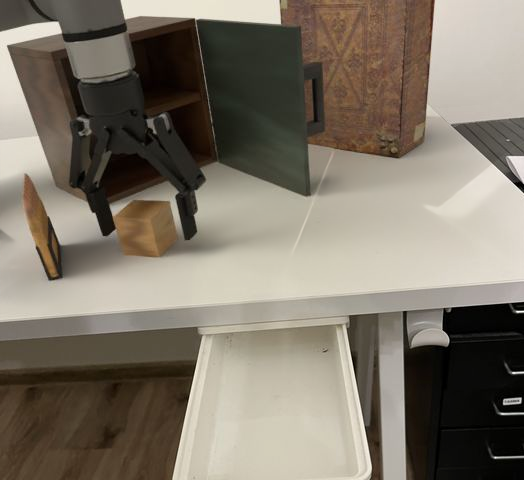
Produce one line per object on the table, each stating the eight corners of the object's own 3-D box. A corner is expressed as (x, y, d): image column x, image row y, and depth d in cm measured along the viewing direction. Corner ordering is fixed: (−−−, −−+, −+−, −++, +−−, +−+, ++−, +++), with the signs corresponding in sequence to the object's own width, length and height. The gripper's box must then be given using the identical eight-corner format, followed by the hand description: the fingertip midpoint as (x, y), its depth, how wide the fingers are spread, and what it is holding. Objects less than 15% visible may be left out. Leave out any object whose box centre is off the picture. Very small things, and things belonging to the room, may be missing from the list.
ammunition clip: (62, 277, 77) (30, 195, 69) (48, 280, 76) (15, 199, 69) (60, 245, 85) (31, 169, 78) (48, 248, 85) (18, 172, 77)
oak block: (123, 255, 80) (112, 217, 76) (143, 236, 84) (133, 199, 81) (160, 258, 78) (150, 219, 74) (178, 238, 82) (169, 200, 79)
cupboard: (218, 161, 108) (195, 18, 93) (99, 208, 95) (50, 51, 80) (168, 145, 119) (140, 15, 104) (55, 186, 107) (6, 45, 92)
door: (246, 151, 110) (229, 12, 95) (337, 183, 92) (333, 17, 77) (218, 162, 107) (195, 19, 92) (306, 196, 89) (295, 27, 74)
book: (289, 141, 112) (275, -37, 94) (315, 127, 118) (307, -44, 99) (399, 158, 98) (409, -47, 80) (424, 142, 103) (438, -55, 85)
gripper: (211, 61, 66) (237, 225, 78) (42, 73, 74) (91, 220, 87) (185, 77, 60) (217, 250, 73) (5, 88, 68) (63, 242, 81)
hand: (149, 234), depth 80 cm, fingers open, 13 cm apart
